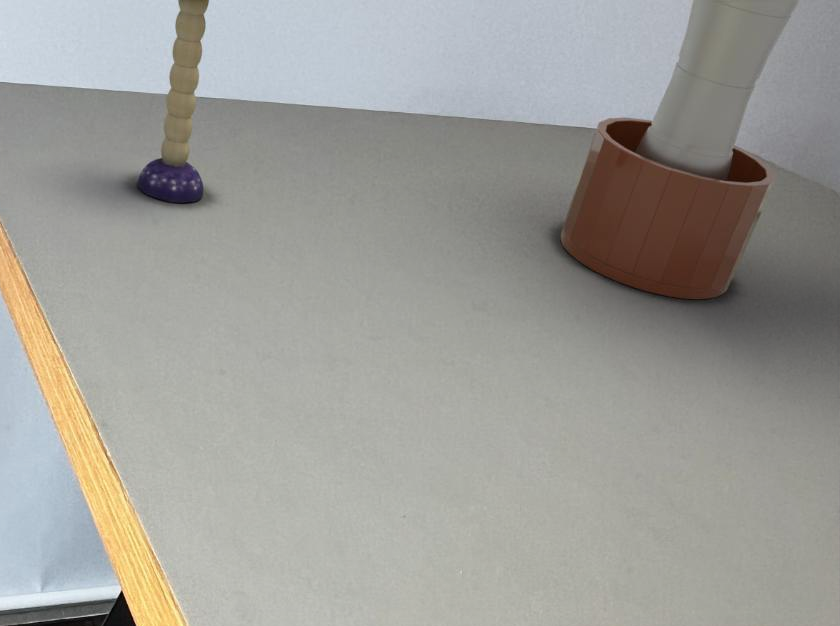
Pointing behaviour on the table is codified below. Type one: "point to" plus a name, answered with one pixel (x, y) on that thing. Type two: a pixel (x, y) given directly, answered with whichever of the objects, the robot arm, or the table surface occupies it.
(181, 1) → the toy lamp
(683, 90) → the plastic bottle
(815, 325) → the table surface
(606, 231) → the crock
